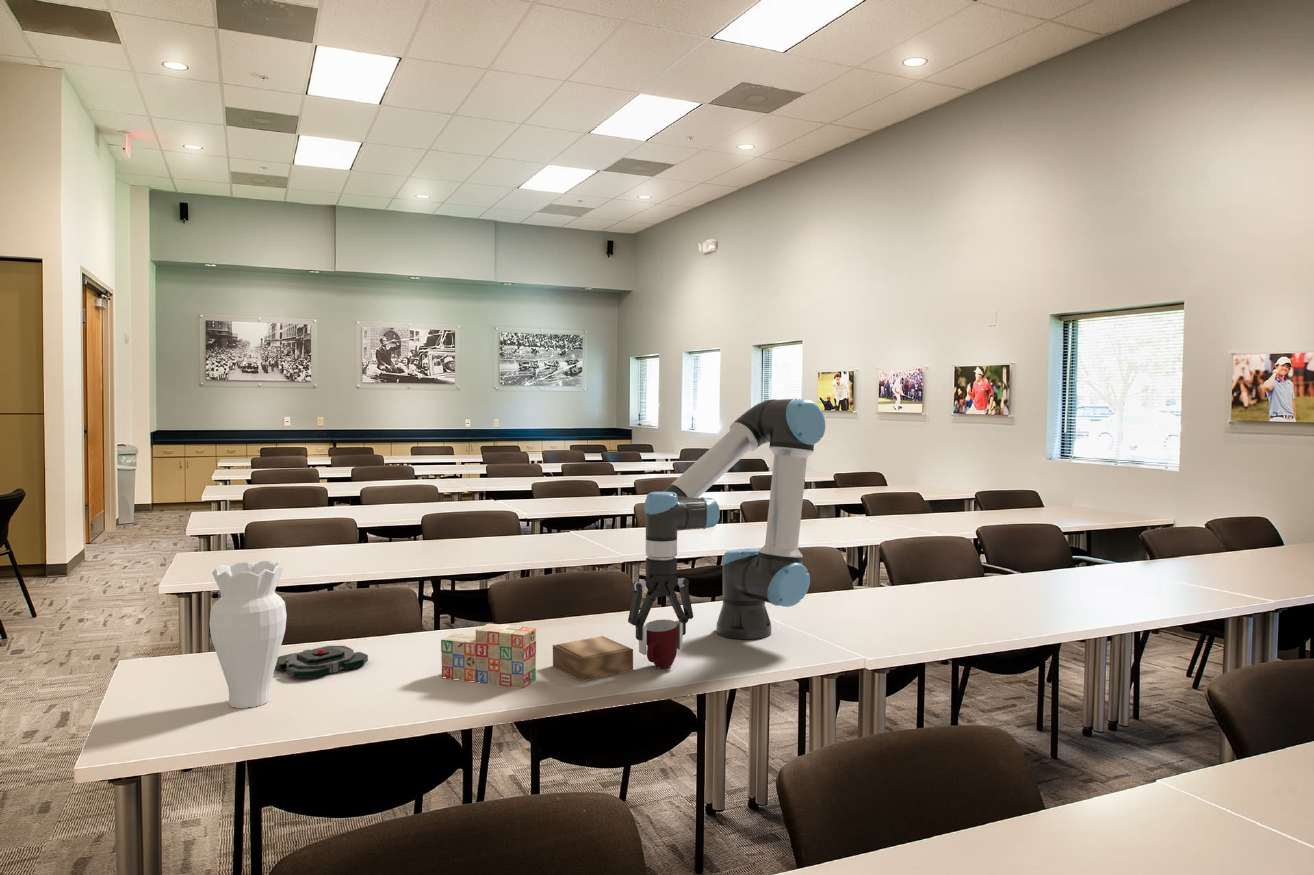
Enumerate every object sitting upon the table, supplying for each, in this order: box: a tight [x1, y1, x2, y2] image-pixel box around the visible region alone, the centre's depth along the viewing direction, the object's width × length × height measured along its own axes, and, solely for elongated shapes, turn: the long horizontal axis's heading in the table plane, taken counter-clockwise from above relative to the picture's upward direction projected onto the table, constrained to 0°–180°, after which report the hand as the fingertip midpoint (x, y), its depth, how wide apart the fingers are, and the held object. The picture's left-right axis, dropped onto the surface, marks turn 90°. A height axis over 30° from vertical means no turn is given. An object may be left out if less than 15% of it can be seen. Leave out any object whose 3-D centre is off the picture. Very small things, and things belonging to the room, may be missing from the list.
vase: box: [208, 560, 288, 709], centre depth 178 cm, size 15×15×29 cm
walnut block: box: [552, 635, 634, 682], centre depth 202 cm, size 14×14×5 cm
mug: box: [644, 619, 678, 669], centre depth 201 cm, size 10×8×10 cm
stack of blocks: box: [440, 623, 537, 689], centre depth 194 cm, size 21×6×12 cm, turn 71°
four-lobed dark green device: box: [275, 645, 369, 678], centre depth 203 cm, size 18×18×5 cm
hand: (660, 650), depth 202 cm, fingers closed on mug, 9 cm apart
